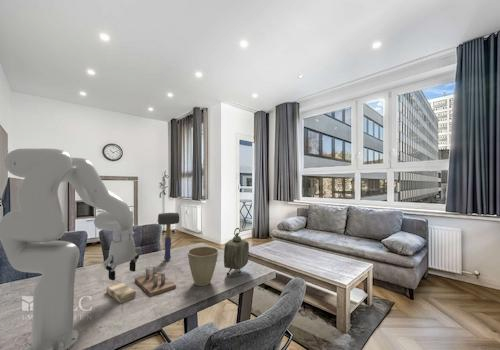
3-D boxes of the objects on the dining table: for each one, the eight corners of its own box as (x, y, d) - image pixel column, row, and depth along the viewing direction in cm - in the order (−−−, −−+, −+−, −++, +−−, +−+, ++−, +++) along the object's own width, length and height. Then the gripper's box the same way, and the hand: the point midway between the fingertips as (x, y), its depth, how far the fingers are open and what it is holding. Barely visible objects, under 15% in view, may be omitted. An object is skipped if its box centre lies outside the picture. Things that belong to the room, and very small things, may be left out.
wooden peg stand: (176, 287, 108) (176, 273, 108) (150, 296, 100) (150, 281, 100) (158, 274, 122) (159, 262, 122) (134, 281, 114) (135, 268, 114)
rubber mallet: (157, 263, 138) (159, 214, 139) (156, 259, 144) (157, 212, 145) (178, 260, 144) (180, 213, 145) (176, 256, 150) (177, 211, 151)
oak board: (135, 298, 99) (135, 291, 99) (120, 304, 94) (121, 296, 94) (120, 288, 107) (120, 282, 107) (106, 293, 102) (106, 286, 102)
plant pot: (181, 282, 113) (182, 250, 114) (206, 274, 124) (207, 245, 124) (197, 293, 103) (198, 258, 103) (223, 283, 113) (224, 251, 114)
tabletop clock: (234, 267, 135) (235, 225, 136) (249, 269, 132) (250, 226, 132) (223, 276, 122) (224, 229, 122) (238, 279, 118) (239, 231, 119)
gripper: (134, 231, 111) (134, 266, 111) (97, 240, 95) (97, 281, 95) (145, 233, 107) (144, 269, 108) (109, 243, 92) (108, 285, 92)
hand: (122, 275), depth 101 cm, fingers open, 9 cm apart
